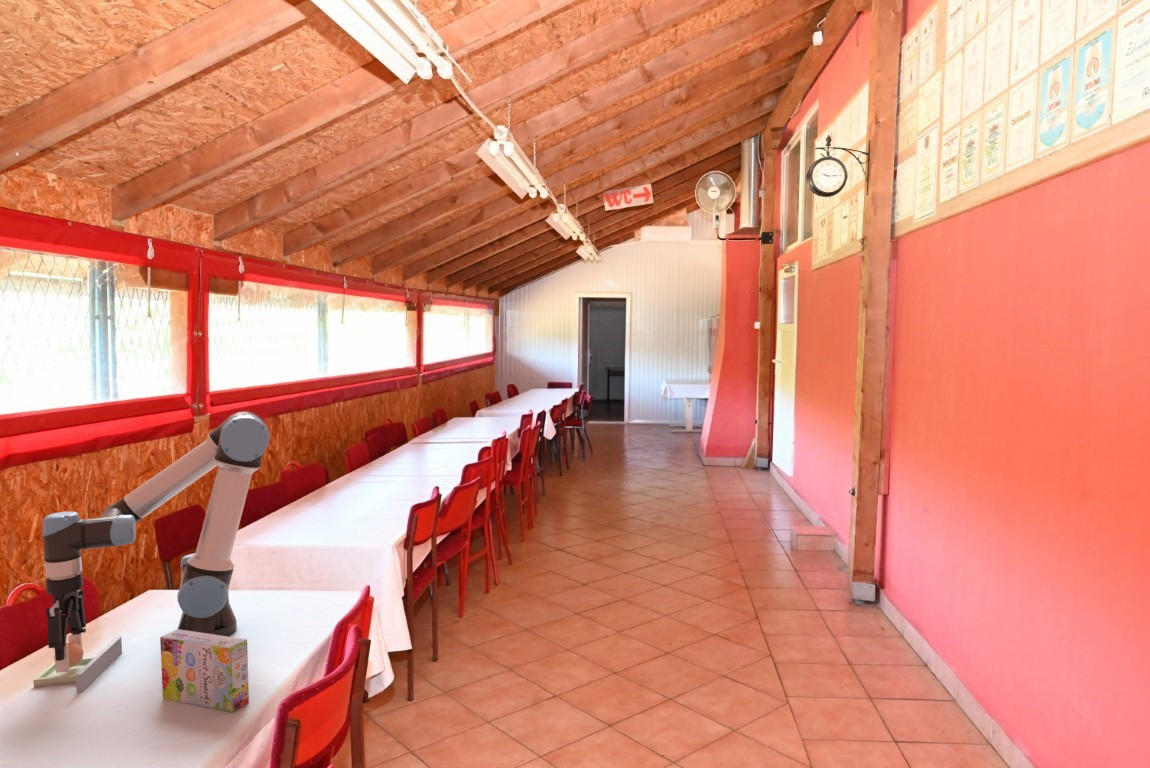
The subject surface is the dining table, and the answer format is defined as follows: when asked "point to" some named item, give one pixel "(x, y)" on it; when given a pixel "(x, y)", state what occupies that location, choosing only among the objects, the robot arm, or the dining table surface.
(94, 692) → the dining table surface
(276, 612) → the dining table surface
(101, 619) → the dining table surface
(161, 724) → the dining table surface
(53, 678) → the tray
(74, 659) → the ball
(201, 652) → the snack box
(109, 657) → the divider wall
